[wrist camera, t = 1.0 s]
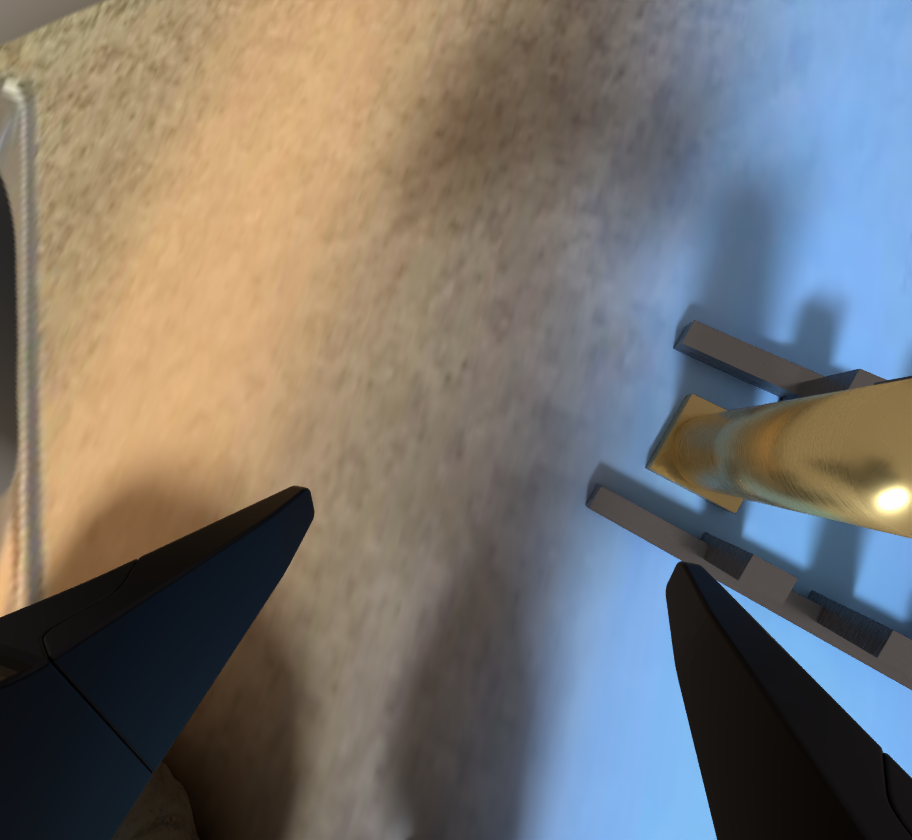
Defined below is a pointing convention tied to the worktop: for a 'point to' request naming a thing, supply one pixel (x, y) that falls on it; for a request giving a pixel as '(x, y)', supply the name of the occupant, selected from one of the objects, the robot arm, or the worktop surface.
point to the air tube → (801, 455)
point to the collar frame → (740, 567)
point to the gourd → (159, 811)
